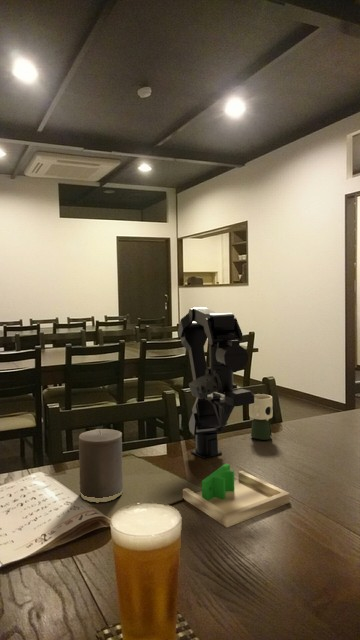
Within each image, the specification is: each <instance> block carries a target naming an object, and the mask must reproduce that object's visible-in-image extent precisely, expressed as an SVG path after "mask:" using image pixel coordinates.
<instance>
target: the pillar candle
mask: <svg viewBox="0 0 360 640" xmlns="http://www.w3.org/2000/svg"><path fill="white" fill-rule="evenodd" d="M122 434H123V432H121V431H119V430H115V429H109V428H96V429H92V430H88V431H84V432H81V433H80V434H79V436H78V457H79V458H78V459H79V460H78V462H79V463H78V464H79V466H78V467H79V493H80V492H81V493H82V494H83V495H84V496H87V497H95V498H103V497H109V496H113V495H115V494H118V493H120V492H121V491H122V489H123V490H124V479H123V478H124V475H123V469H124V468H123V441H122V440H123V438H122V436H123V435H122Z"/></svg>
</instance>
